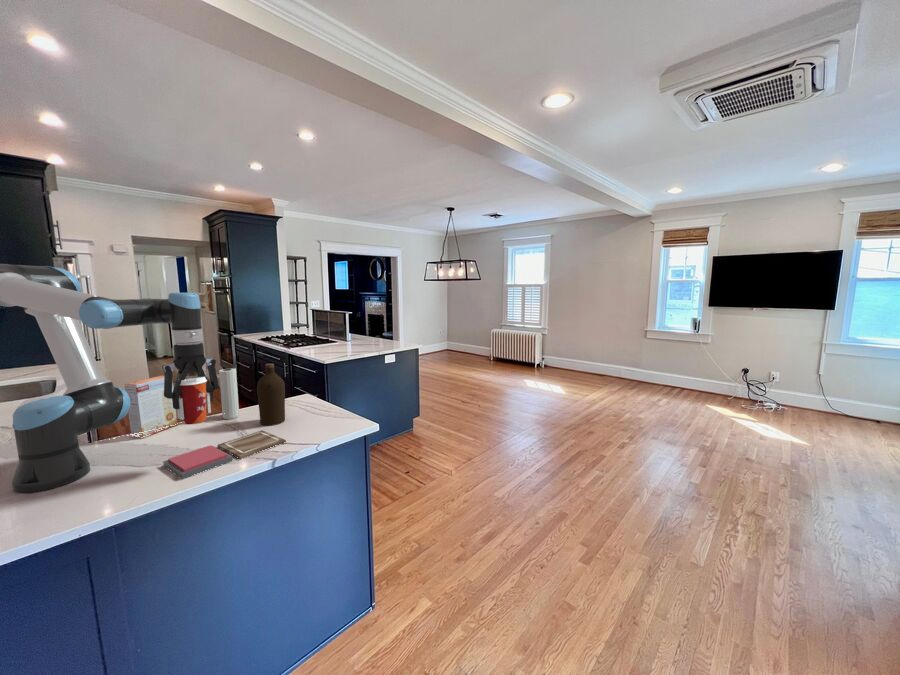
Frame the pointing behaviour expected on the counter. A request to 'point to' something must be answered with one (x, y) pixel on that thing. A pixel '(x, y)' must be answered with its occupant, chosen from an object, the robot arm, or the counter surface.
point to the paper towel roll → (229, 393)
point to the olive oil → (271, 397)
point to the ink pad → (197, 461)
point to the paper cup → (194, 399)
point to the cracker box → (149, 406)
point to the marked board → (251, 444)
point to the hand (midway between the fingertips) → (194, 415)
